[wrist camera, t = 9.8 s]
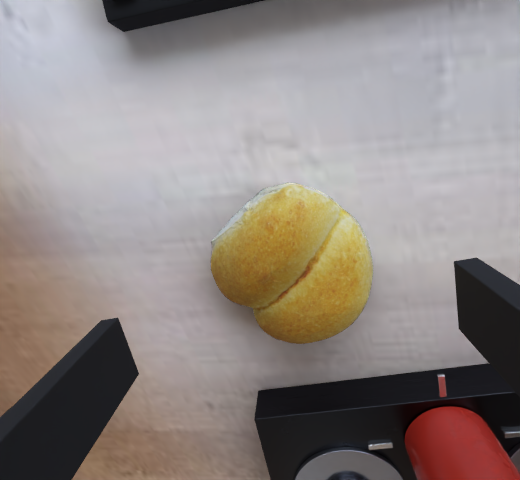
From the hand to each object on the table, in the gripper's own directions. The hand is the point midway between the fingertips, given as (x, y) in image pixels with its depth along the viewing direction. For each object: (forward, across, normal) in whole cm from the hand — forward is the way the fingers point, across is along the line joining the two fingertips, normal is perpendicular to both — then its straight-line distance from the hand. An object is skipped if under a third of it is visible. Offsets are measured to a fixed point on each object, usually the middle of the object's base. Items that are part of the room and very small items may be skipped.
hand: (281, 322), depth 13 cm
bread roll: (+8, 0, 0) cm, 8 cm away
